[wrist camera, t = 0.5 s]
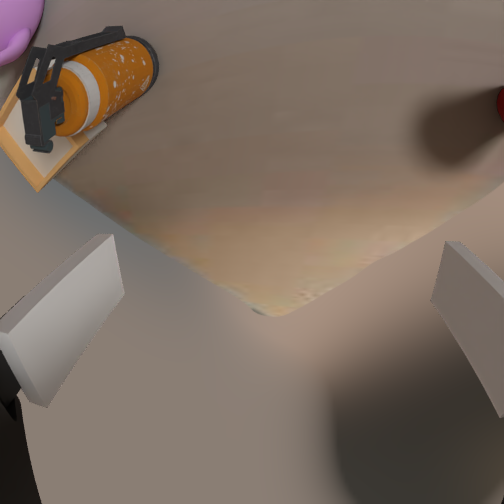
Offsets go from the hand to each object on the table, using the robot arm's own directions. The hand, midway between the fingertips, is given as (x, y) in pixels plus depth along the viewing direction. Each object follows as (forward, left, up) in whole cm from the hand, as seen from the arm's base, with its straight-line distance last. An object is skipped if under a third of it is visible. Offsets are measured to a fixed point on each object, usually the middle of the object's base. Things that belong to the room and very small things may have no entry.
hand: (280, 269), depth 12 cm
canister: (-15, -17, -31) cm, 39 cm away
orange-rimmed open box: (-17, -35, -31) cm, 50 cm away
